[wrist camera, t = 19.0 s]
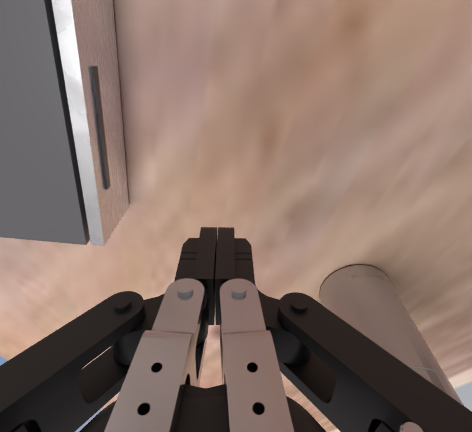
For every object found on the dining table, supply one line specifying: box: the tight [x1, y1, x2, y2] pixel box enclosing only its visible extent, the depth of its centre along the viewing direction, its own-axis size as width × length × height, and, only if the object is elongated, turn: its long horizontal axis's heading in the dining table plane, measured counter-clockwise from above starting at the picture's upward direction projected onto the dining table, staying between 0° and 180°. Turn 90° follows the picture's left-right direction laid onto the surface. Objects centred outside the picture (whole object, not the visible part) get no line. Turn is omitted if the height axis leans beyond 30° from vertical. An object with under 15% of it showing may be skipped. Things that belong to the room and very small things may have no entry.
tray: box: [52, 0, 129, 246], centre depth 27 cm, size 18×20×8 cm
